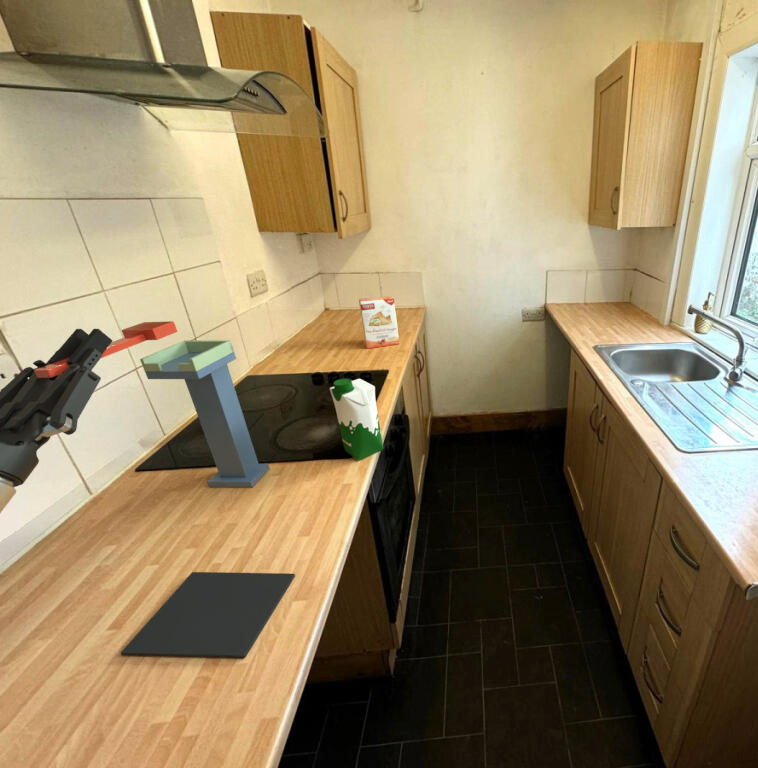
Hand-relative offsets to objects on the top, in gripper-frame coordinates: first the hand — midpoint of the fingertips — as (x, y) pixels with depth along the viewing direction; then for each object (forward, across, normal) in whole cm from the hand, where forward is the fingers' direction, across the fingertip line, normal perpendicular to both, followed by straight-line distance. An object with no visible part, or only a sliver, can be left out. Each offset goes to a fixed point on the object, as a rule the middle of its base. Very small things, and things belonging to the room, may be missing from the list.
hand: (94, 335), depth 64 cm
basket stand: (-7, 0, -43) cm, 43 cm away
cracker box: (+78, +4, -92) cm, 121 cm away
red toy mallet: (0, 0, -4) cm, 4 cm away
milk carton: (+5, +25, -50) cm, 56 cm away
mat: (-34, +18, -27) cm, 47 cm away
